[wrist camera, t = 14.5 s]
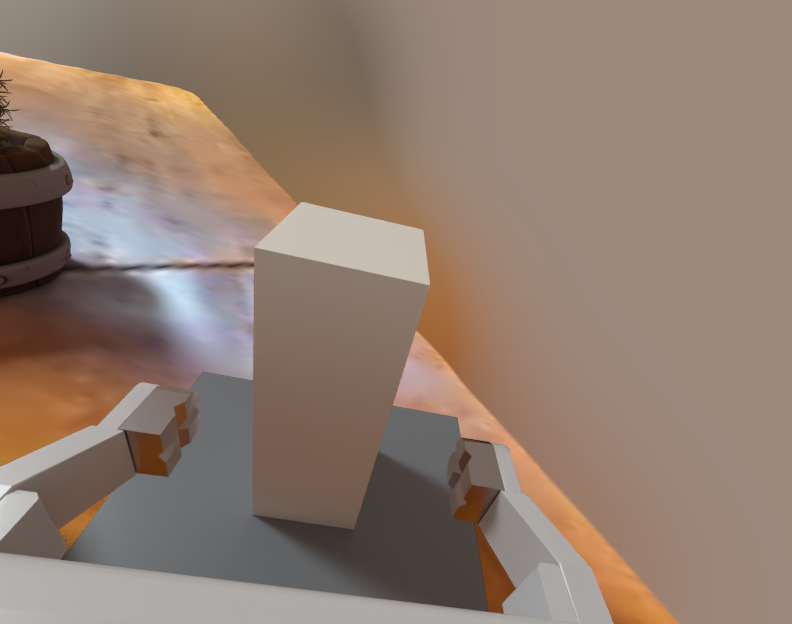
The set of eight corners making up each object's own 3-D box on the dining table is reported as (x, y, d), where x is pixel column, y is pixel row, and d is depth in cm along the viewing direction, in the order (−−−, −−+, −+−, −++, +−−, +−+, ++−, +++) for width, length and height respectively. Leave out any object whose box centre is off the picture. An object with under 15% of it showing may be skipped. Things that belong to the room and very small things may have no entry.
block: (252, 514, 17) (254, 247, 9) (283, 430, 21) (301, 201, 14) (354, 529, 17) (429, 285, 10) (364, 444, 21) (423, 229, 14)
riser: (65, 612, 15) (44, 582, 13) (205, 402, 25) (203, 371, 23) (469, 657, 16) (492, 635, 15) (445, 443, 27) (457, 417, 25)
